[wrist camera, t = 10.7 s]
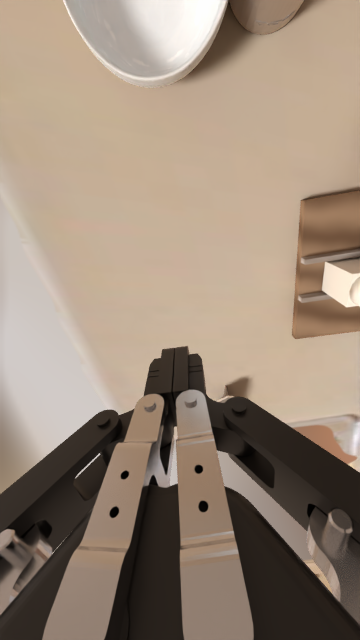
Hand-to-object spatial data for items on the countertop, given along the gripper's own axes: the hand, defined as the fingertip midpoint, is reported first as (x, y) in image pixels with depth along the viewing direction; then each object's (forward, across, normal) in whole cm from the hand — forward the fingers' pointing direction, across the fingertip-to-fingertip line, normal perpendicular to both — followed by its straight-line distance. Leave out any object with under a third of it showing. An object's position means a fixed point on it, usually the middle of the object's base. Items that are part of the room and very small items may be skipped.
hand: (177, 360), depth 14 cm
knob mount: (+29, -26, +7) cm, 40 cm away
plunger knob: (+27, -25, +7) cm, 38 cm away
